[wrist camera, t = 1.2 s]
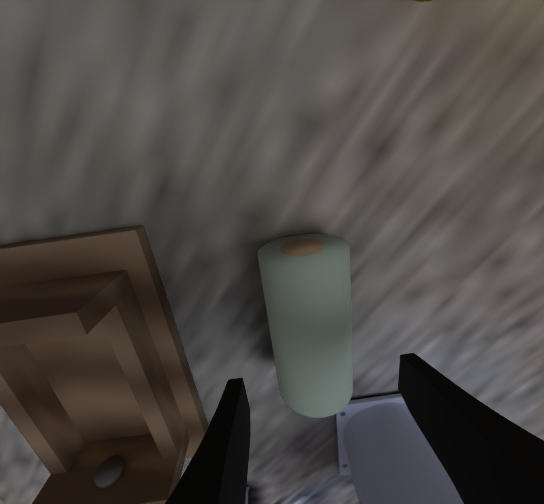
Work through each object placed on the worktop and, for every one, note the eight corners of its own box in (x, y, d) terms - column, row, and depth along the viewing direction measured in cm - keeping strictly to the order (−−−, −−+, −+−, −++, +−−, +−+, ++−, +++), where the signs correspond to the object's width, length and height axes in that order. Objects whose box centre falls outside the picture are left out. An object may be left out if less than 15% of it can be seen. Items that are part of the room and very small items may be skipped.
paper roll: (336, 350, 20) (367, 408, 15) (274, 363, 20) (286, 427, 15) (329, 227, 16) (367, 253, 12) (253, 240, 16) (261, 272, 11)
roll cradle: (213, 441, 22) (200, 526, 17) (80, 460, 22) (26, 551, 17) (143, 225, 15) (84, 260, 10) (-53, 253, 15) (-211, 301, 10)
